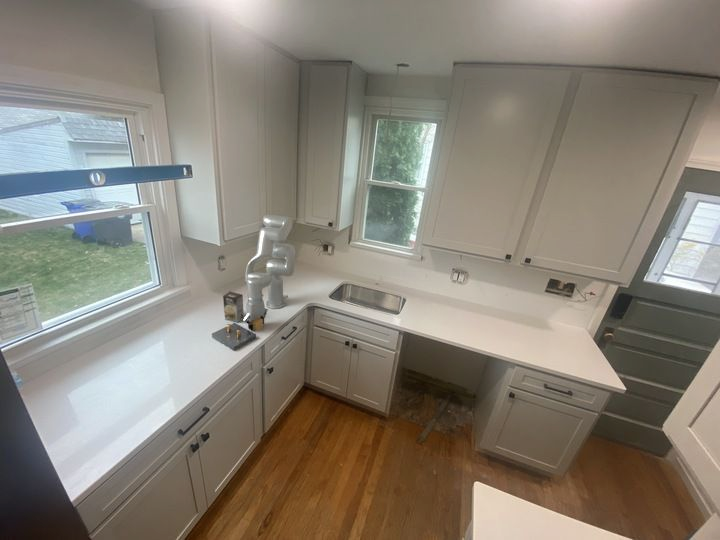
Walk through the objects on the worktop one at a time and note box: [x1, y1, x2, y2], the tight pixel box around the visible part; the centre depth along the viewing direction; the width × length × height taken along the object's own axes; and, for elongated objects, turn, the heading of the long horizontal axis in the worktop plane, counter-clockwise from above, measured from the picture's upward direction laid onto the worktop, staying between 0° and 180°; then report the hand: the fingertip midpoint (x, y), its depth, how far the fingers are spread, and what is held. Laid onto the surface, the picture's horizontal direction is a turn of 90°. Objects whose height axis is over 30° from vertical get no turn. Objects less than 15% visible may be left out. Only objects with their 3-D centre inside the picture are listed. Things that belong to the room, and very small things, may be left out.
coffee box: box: [222, 291, 245, 324], centre depth 171 cm, size 9×6×16 cm
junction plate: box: [211, 322, 257, 351], centre depth 156 cm, size 14×18×6 cm
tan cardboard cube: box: [250, 316, 264, 332], centre depth 167 cm, size 5×5×6 cm
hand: (256, 326), depth 168 cm, fingers open, 7 cm apart
